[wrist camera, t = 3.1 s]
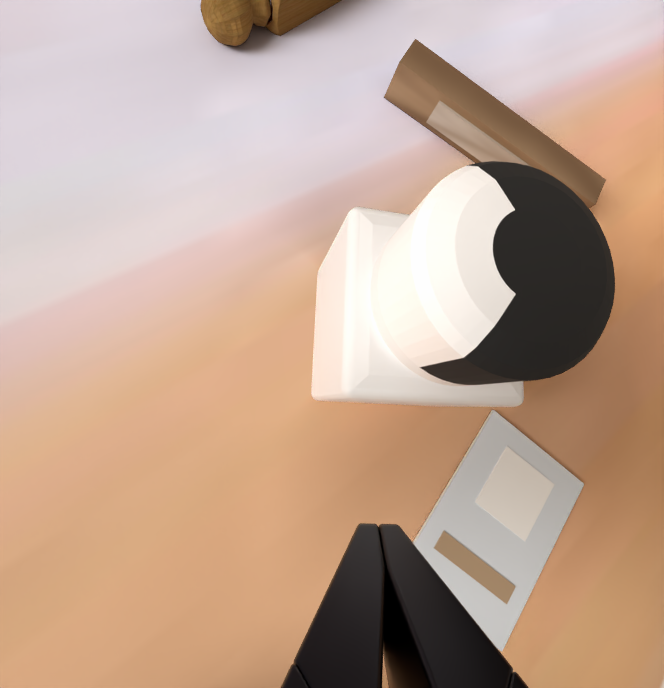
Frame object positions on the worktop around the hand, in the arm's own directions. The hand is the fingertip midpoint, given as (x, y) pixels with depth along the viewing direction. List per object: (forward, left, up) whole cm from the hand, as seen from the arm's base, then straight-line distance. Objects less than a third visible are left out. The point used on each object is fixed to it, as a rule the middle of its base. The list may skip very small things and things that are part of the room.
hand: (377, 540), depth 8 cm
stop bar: (+21, +6, -11) cm, 25 cm away
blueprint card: (+5, -10, -11) cm, 16 cm away
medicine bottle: (+7, +2, -12) cm, 14 cm away
